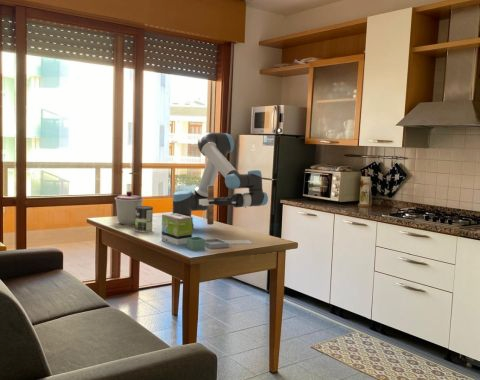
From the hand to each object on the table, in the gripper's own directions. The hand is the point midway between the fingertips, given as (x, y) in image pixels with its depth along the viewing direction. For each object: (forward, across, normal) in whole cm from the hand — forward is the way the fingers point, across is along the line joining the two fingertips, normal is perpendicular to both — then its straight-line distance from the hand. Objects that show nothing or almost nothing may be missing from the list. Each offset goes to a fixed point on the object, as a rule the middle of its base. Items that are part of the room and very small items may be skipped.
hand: (200, 202), depth 240 cm
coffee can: (+14, +52, -23) cm, 59 cm away
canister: (+16, +76, -23) cm, 82 cm away
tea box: (+7, +16, -24) cm, 29 cm away
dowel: (-5, 0, -12) cm, 13 cm away
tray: (-8, +1, -24) cm, 25 cm away
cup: (+4, -2, -24) cm, 24 cm away
